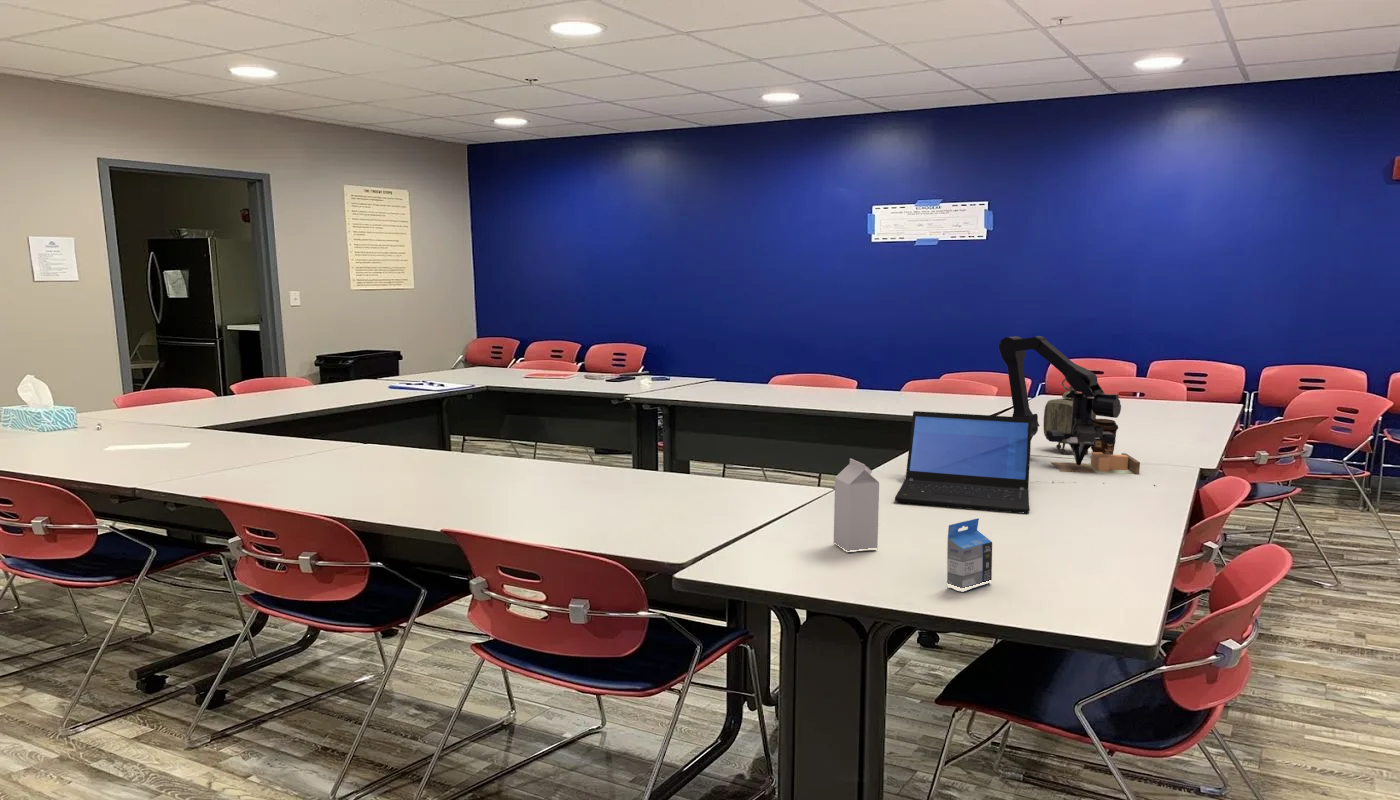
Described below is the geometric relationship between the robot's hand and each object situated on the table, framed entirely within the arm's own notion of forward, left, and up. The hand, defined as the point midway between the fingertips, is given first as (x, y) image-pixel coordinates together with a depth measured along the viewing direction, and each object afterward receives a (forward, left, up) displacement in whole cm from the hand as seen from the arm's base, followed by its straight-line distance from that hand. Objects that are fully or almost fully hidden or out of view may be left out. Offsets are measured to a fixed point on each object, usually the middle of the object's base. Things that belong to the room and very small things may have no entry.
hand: (1078, 464), depth 284 cm
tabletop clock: (+3, +30, -2) cm, 30 cm away
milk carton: (-68, -92, -2) cm, 114 cm away
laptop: (-38, -35, -2) cm, 52 cm away
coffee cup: (+11, +18, -2) cm, 21 cm away
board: (+4, 0, -2) cm, 5 cm away
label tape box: (-47, -114, -2) cm, 123 cm away
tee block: (+9, 0, -1) cm, 9 cm away
